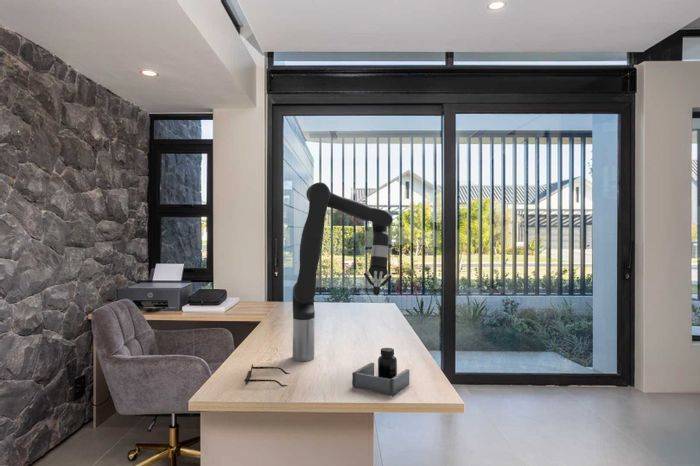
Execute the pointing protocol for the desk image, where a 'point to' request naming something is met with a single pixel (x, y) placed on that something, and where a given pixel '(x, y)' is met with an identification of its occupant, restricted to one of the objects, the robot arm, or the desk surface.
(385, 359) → the supplement bottle
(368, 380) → the bracket
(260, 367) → the eyeglasses
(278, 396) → the desk surface
